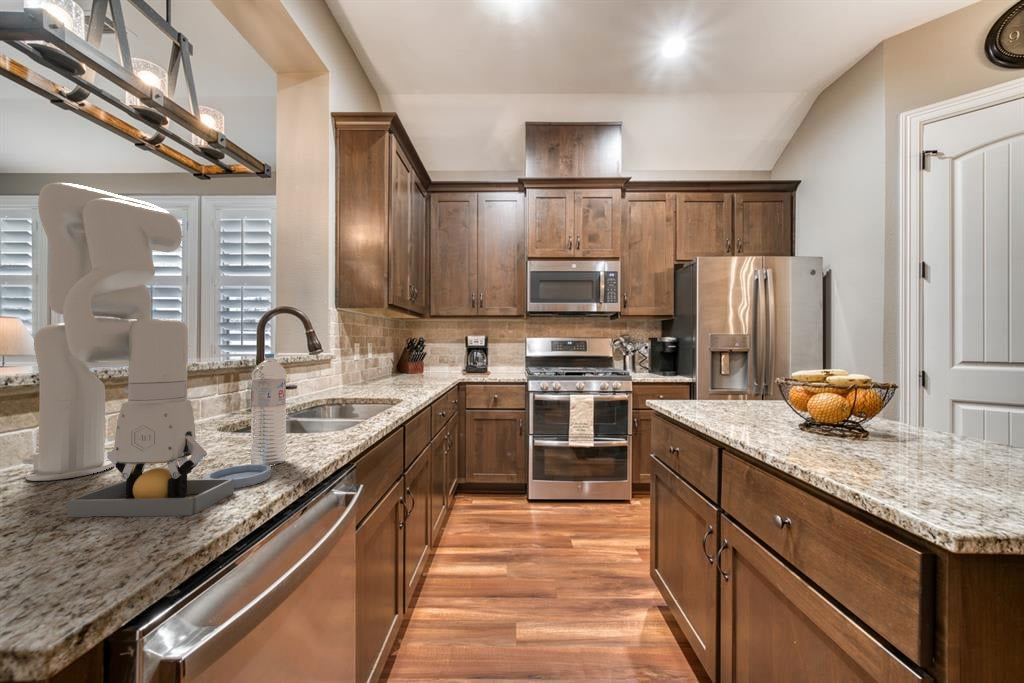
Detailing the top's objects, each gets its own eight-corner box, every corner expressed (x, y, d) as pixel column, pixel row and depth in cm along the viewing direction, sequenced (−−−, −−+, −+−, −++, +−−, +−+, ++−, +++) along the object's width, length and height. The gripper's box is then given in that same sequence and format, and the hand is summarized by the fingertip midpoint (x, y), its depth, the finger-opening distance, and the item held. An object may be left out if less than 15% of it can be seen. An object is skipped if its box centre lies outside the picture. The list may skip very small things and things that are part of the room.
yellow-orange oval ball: (121, 511, 65) (122, 473, 65) (153, 497, 71) (154, 463, 71) (160, 510, 65) (160, 473, 65) (188, 497, 71) (189, 462, 71)
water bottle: (269, 468, 88) (270, 353, 88) (242, 467, 89) (244, 353, 90) (292, 460, 95) (293, 353, 95) (267, 458, 96) (268, 353, 97)
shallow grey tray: (64, 517, 62) (65, 501, 62) (125, 494, 73) (126, 480, 73) (192, 515, 63) (192, 499, 63) (235, 492, 73) (235, 478, 73)
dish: (190, 490, 74) (190, 480, 74) (229, 472, 85) (229, 464, 85) (250, 489, 75) (250, 480, 75) (281, 471, 86) (281, 463, 86)
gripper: (82, 395, 64) (80, 510, 64) (194, 394, 65) (192, 508, 64) (126, 390, 72) (124, 493, 71) (225, 390, 72) (224, 491, 72)
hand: (156, 499), depth 68 cm, fingers closed on yellow-orange oval ball, 5 cm apart
